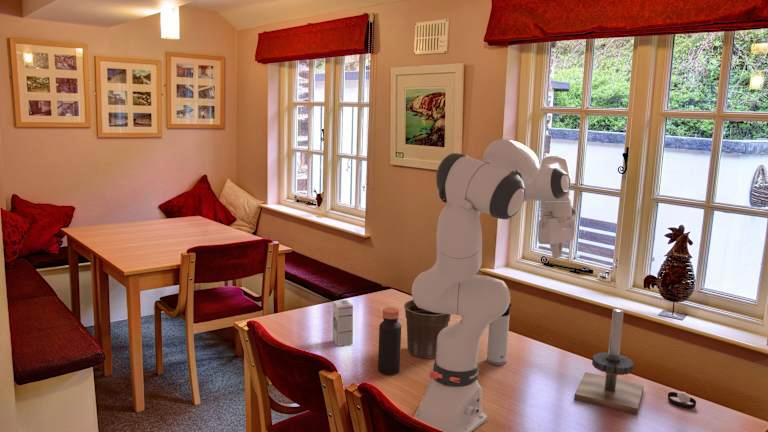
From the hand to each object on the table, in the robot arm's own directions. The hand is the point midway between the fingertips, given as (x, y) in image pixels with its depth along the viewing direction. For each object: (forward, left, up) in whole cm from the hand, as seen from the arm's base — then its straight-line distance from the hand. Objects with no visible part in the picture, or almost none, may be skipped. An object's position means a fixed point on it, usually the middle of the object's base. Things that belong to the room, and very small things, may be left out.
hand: (557, 257), depth 189 cm
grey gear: (-2, -19, -29) cm, 35 cm away
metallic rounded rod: (-2, -19, -36) cm, 41 cm away
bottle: (-21, +44, -39) cm, 62 cm away
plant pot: (-1, +40, -39) cm, 56 cm away
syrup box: (-9, +68, -39) cm, 79 cm away
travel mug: (+4, +17, -39) cm, 42 cm away
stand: (-2, -19, -38) cm, 43 cm away
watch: (+3, -38, -39) cm, 54 cm away
